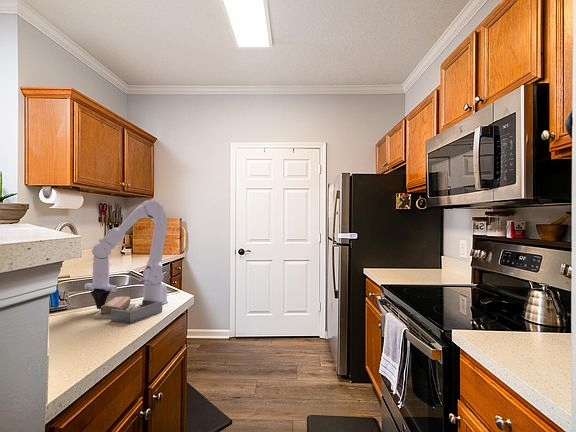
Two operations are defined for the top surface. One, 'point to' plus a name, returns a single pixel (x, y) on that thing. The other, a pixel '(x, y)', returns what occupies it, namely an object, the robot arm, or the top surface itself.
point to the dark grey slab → (137, 312)
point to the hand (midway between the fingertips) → (100, 308)
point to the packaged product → (114, 307)
